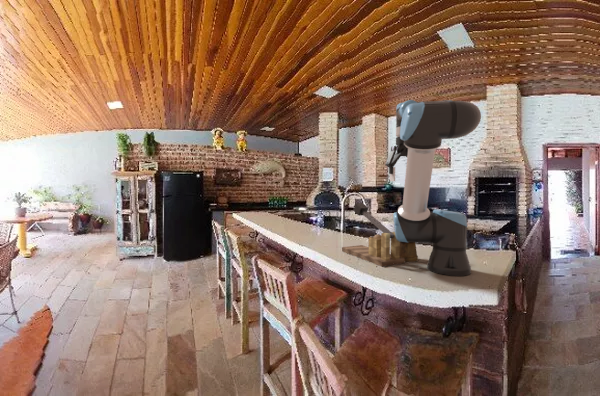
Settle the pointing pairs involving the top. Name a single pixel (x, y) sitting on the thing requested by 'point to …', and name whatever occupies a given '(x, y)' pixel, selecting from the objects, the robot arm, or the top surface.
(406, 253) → the wooden mug
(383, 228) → the lever
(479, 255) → the top surface
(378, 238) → the walnut
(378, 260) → the nutcracker base
